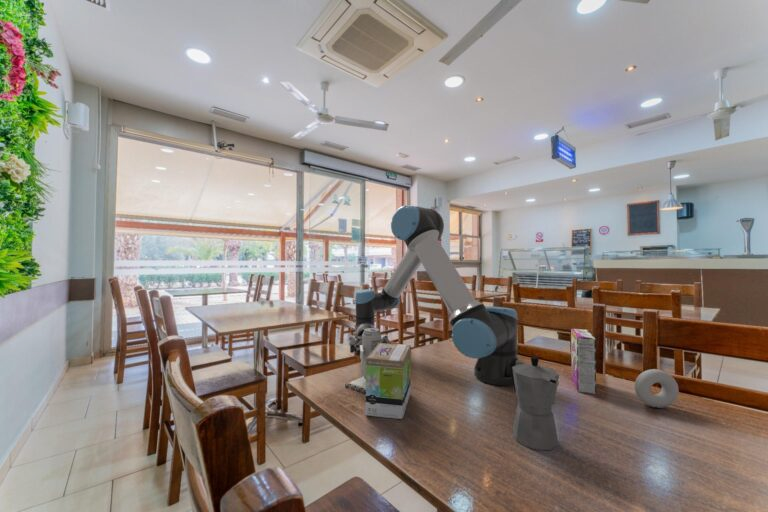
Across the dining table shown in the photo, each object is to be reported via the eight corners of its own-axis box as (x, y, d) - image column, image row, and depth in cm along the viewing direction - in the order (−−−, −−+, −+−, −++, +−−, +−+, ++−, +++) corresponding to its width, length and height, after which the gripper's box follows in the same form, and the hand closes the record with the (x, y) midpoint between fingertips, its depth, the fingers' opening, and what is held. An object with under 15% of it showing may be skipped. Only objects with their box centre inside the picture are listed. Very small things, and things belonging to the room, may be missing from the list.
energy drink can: (372, 372, 106) (371, 326, 106) (385, 377, 101) (385, 329, 101) (358, 377, 101) (358, 329, 101) (371, 382, 97) (371, 332, 97)
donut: (671, 405, 86) (672, 367, 86) (682, 411, 83) (682, 372, 83) (631, 403, 87) (631, 366, 87) (640, 409, 84) (640, 371, 84)
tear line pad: (394, 382, 102) (394, 379, 102) (370, 395, 93) (370, 392, 93) (369, 374, 108) (369, 372, 108) (345, 386, 99) (345, 384, 99)
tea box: (404, 420, 79) (403, 360, 79) (364, 416, 81) (364, 357, 81) (411, 394, 94) (411, 343, 94) (377, 391, 96) (377, 341, 96)
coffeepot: (576, 453, 66) (577, 365, 65) (536, 460, 64) (536, 369, 63) (527, 416, 81) (527, 344, 81) (493, 421, 79) (493, 347, 78)
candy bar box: (570, 378, 105) (570, 328, 105) (588, 380, 103) (588, 329, 103) (576, 392, 94) (576, 336, 94) (596, 395, 93) (596, 338, 92)
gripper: (392, 344, 120) (404, 366, 98) (341, 346, 118) (341, 369, 95) (392, 324, 120) (404, 341, 97) (341, 326, 118) (341, 344, 95)
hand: (373, 355), depth 96 cm, fingers closed on energy drink can, 6 cm apart
